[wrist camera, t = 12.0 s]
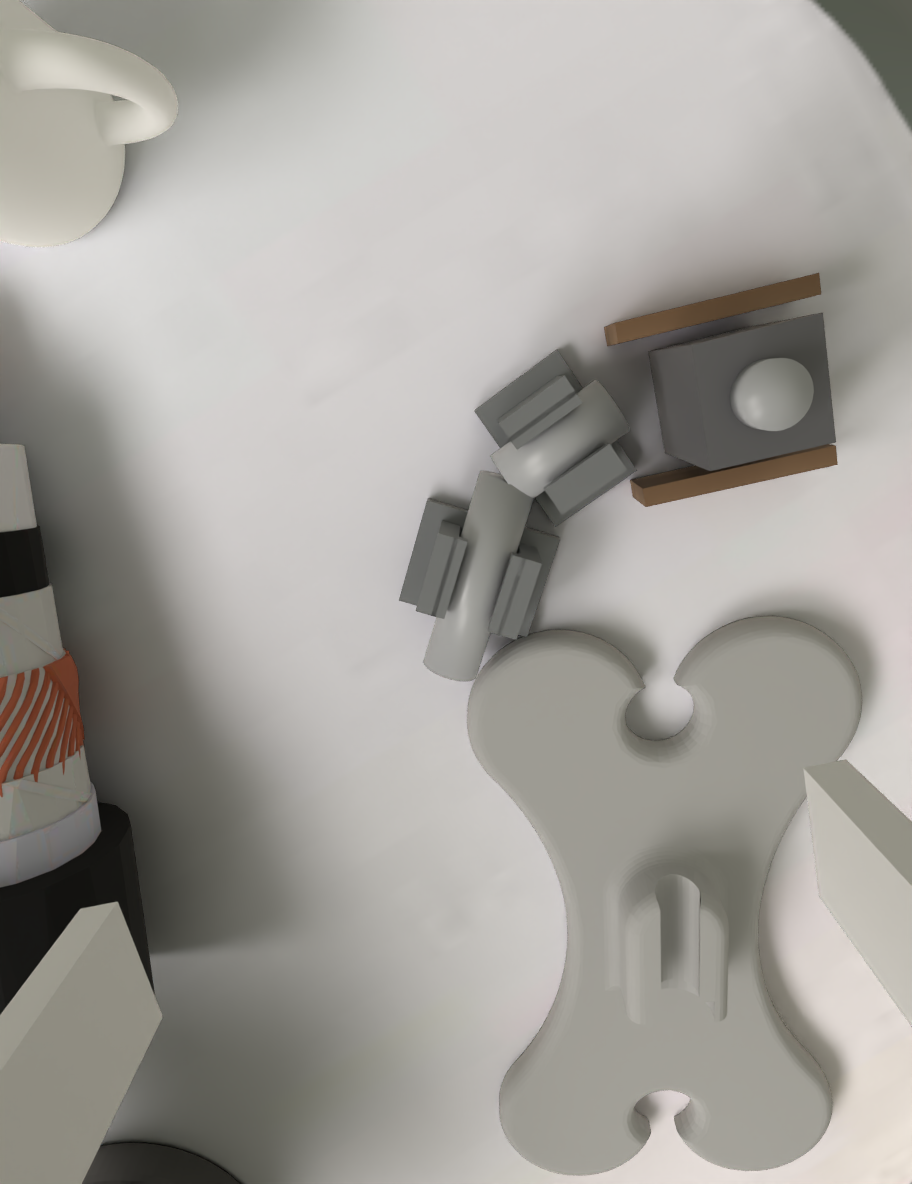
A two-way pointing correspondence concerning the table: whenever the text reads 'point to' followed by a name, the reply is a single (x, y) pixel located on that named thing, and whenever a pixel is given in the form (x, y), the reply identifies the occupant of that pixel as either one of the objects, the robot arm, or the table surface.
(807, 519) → the table surface
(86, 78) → the mug
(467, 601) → the clip
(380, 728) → the table surface
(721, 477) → the end holder
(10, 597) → the cable
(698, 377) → the block
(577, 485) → the clip
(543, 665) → the holder
